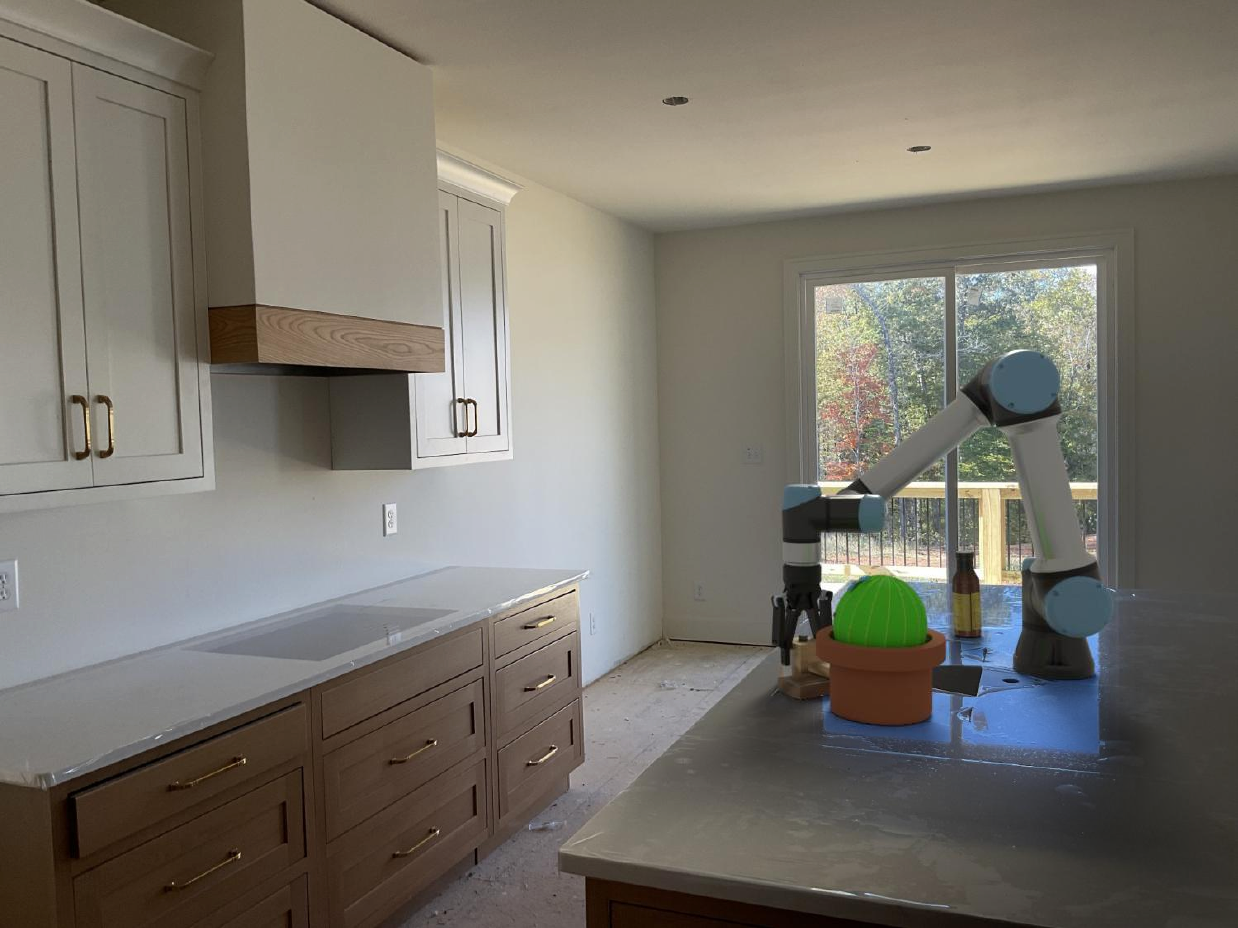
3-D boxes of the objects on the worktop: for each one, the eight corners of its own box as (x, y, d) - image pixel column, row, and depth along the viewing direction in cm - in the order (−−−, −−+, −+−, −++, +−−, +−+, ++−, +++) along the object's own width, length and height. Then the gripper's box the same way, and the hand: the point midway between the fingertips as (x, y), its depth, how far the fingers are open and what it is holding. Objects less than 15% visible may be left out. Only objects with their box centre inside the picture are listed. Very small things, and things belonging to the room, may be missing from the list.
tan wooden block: (847, 689, 185) (846, 642, 185) (822, 694, 182) (821, 646, 182) (806, 675, 196) (805, 630, 196) (782, 679, 193) (781, 634, 193)
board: (891, 682, 189) (891, 669, 189) (800, 700, 179) (800, 686, 179) (867, 674, 195) (866, 662, 195) (777, 690, 185) (777, 677, 185)
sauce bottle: (977, 632, 230) (977, 549, 229) (985, 638, 224) (984, 552, 223) (949, 632, 231) (949, 549, 230) (956, 638, 225) (955, 553, 224)
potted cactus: (957, 702, 175) (957, 565, 174) (929, 738, 157) (928, 585, 155) (839, 687, 187) (838, 558, 185) (799, 719, 168) (797, 576, 166)
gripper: (827, 556, 199) (828, 668, 200) (751, 564, 190) (752, 681, 191) (852, 561, 192) (853, 676, 193) (773, 569, 183) (775, 690, 184)
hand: (803, 678), depth 192 cm, fingers closed on tan wooden block, 6 cm apart
